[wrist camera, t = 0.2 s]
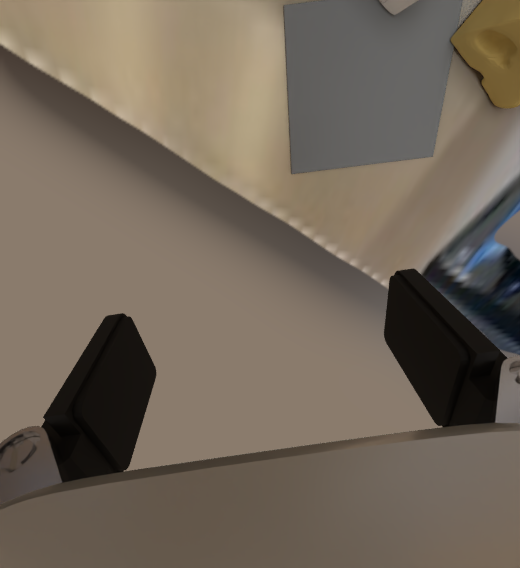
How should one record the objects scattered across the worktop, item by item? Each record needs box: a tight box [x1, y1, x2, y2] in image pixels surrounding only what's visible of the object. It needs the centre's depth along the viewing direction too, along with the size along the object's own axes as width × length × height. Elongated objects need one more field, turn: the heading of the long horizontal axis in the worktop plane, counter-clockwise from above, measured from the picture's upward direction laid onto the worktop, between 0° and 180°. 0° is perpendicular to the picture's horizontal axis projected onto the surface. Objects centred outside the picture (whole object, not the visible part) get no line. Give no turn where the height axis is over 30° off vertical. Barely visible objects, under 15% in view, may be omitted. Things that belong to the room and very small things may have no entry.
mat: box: [284, 0, 463, 174], centre depth 33 cm, size 16×18×1 cm
